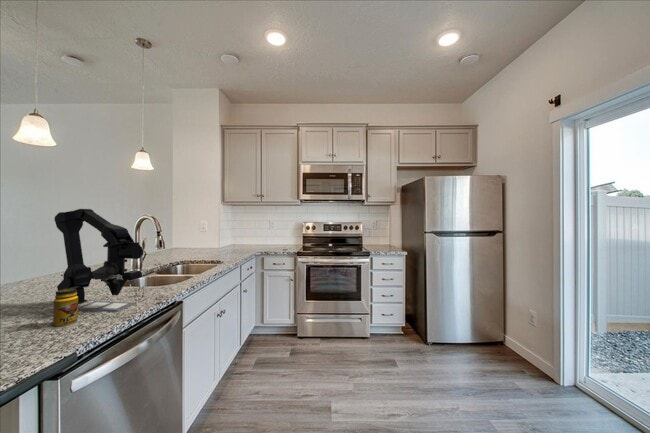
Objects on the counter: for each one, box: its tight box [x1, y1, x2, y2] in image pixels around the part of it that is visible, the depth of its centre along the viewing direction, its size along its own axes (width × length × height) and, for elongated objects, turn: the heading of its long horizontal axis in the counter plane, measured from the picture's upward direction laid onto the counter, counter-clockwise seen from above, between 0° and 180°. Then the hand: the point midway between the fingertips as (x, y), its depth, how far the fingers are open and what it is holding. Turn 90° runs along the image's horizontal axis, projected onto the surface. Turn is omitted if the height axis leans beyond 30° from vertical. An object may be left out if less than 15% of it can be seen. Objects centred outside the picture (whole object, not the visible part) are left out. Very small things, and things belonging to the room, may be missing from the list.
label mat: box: [78, 300, 136, 313], centre depth 107 cm, size 18×9×1 cm, turn 87°
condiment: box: [39, 288, 84, 331], centre depth 89 cm, size 7×8×12 cm
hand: (115, 295), depth 106 cm, fingers closed
